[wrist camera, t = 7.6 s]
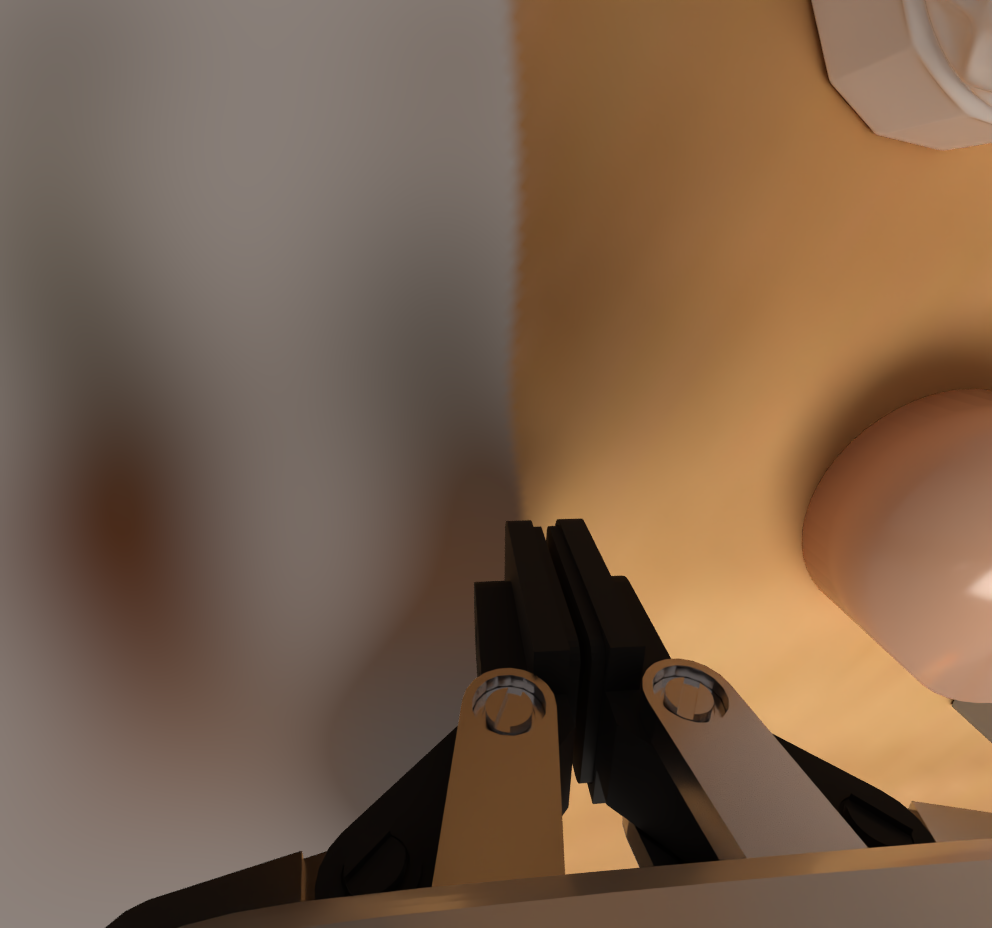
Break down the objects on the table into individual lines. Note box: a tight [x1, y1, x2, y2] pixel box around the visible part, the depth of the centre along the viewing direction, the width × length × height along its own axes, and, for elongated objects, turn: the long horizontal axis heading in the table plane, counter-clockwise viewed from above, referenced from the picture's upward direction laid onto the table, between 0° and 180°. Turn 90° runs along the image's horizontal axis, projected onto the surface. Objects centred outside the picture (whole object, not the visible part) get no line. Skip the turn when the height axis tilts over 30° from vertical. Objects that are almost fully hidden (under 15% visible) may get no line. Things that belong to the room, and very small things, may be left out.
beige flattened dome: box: [802, 389, 992, 703], centre depth 13 cm, size 7×7×4 cm
